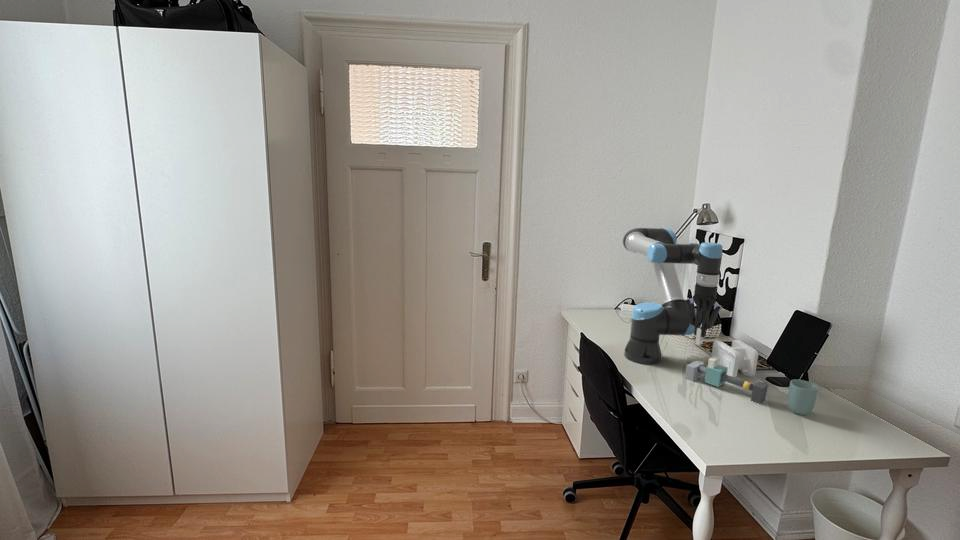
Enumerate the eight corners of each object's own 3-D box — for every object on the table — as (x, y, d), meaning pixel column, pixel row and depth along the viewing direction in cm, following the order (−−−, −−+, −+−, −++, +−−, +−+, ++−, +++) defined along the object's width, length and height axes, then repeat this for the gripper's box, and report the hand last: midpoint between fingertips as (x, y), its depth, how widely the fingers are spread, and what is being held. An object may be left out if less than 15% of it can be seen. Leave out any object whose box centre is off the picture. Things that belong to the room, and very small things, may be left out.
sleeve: (704, 381, 172) (707, 359, 170) (712, 377, 175) (715, 355, 173) (718, 386, 168) (721, 364, 166) (725, 382, 172) (728, 360, 170)
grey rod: (694, 371, 176) (695, 365, 176) (697, 370, 178) (698, 363, 177) (753, 392, 160) (754, 386, 160) (756, 390, 162) (757, 383, 161)
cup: (813, 420, 148) (819, 392, 146) (785, 413, 152) (790, 385, 150) (812, 410, 155) (817, 383, 152) (784, 403, 159) (789, 377, 156)
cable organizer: (756, 380, 176) (761, 352, 174) (730, 380, 175) (734, 352, 173) (732, 364, 191) (736, 338, 188) (708, 364, 190) (712, 338, 188)
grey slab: (685, 378, 177) (686, 365, 175) (695, 372, 182) (696, 360, 180) (692, 381, 174) (694, 368, 173) (702, 375, 179) (704, 362, 178)
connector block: (750, 400, 160) (753, 385, 159) (756, 396, 163) (758, 381, 162) (759, 404, 158) (762, 388, 157) (765, 400, 161) (768, 384, 160)
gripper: (684, 282, 172) (677, 341, 177) (719, 289, 162) (711, 351, 167) (694, 279, 177) (687, 337, 182) (729, 286, 167) (720, 347, 172)
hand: (698, 344), depth 175 cm, fingers closed
